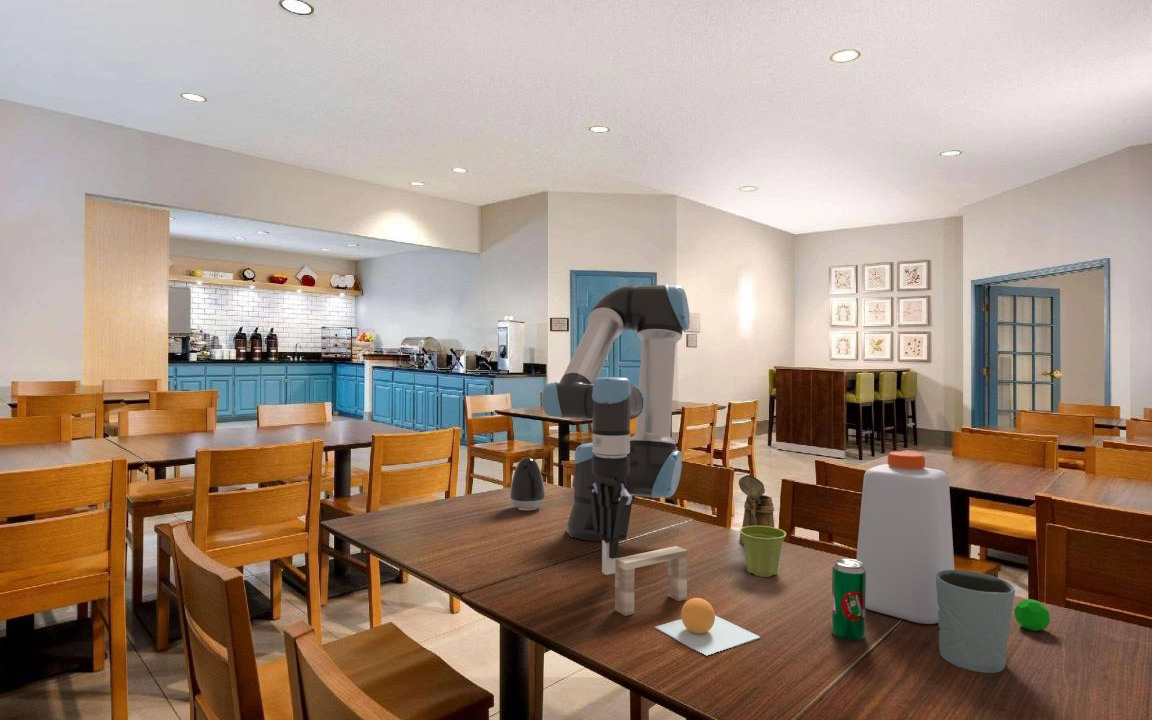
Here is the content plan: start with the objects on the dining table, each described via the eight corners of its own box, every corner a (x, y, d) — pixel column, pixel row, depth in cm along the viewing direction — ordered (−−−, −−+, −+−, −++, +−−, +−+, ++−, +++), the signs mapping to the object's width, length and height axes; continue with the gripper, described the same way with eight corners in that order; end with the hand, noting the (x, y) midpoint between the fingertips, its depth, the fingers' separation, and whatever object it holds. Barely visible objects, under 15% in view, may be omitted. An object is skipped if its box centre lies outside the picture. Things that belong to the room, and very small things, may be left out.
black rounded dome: (505, 512, 183) (505, 459, 183) (514, 504, 193) (515, 454, 193) (540, 514, 181) (540, 460, 181) (548, 505, 191) (548, 455, 191)
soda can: (836, 626, 108) (838, 555, 108) (868, 634, 105) (869, 562, 105) (827, 636, 104) (828, 563, 104) (859, 645, 101) (860, 570, 101)
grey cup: (919, 650, 100) (921, 573, 100) (963, 639, 104) (965, 565, 104) (983, 681, 91) (985, 596, 90) (1029, 668, 95) (1030, 587, 94)
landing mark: (654, 627, 107) (654, 626, 107) (706, 612, 114) (706, 611, 114) (706, 656, 97) (706, 655, 97) (760, 638, 103) (760, 636, 103)
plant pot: (788, 582, 129) (788, 539, 129) (740, 578, 131) (740, 536, 131) (782, 567, 138) (783, 527, 138) (737, 563, 140) (738, 524, 140)
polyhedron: (1034, 636, 105) (1034, 608, 105) (1006, 624, 110) (1007, 596, 110) (1057, 633, 106) (1058, 605, 106) (1029, 621, 111) (1029, 594, 111)
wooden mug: (728, 549, 151) (729, 472, 151) (745, 535, 162) (746, 464, 162) (766, 555, 146) (767, 477, 146) (781, 541, 158) (782, 468, 157)
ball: (700, 631, 101) (681, 640, 105) (726, 625, 103) (706, 634, 107) (688, 596, 103) (670, 606, 107) (714, 591, 106) (695, 601, 110)
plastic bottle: (962, 606, 117) (964, 454, 117) (937, 631, 107) (939, 463, 106) (876, 585, 128) (878, 445, 128) (845, 605, 117) (847, 453, 117)
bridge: (614, 610, 114) (615, 558, 114) (675, 593, 122) (676, 545, 122) (625, 615, 112) (625, 563, 112) (686, 599, 120) (687, 550, 120)
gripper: (577, 451, 131) (576, 566, 131) (615, 461, 120) (614, 586, 120) (606, 449, 135) (605, 560, 135) (646, 457, 124) (645, 579, 124)
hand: (609, 572), depth 128 cm, fingers closed
